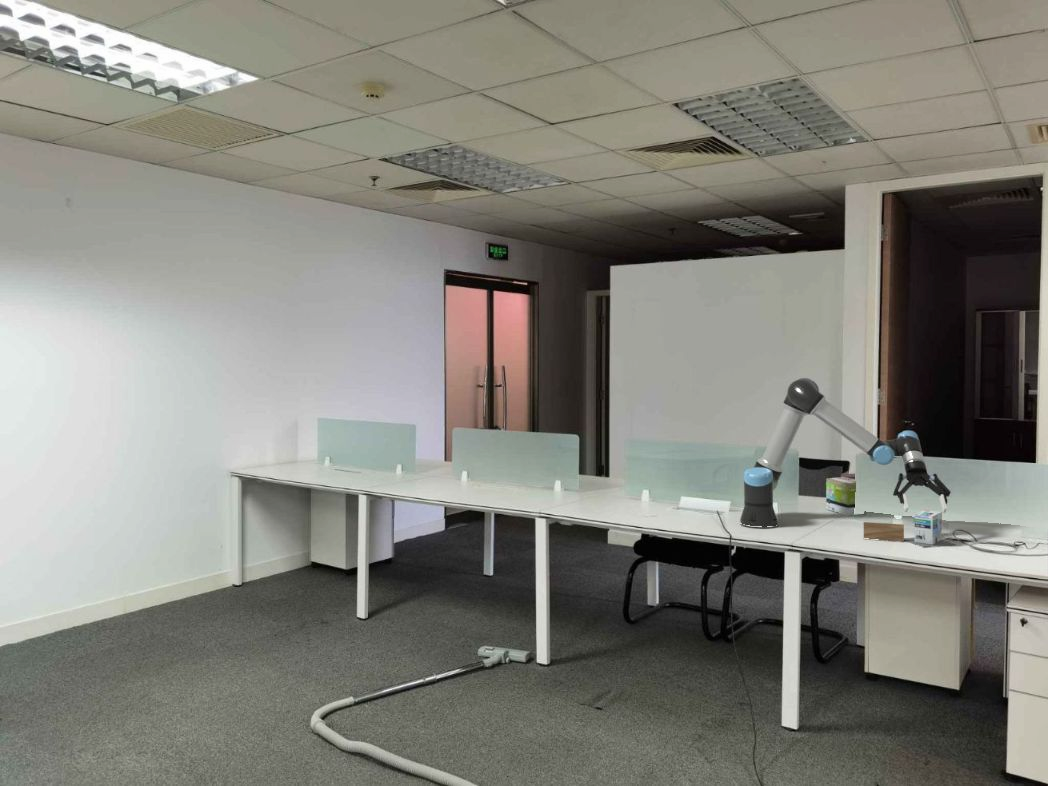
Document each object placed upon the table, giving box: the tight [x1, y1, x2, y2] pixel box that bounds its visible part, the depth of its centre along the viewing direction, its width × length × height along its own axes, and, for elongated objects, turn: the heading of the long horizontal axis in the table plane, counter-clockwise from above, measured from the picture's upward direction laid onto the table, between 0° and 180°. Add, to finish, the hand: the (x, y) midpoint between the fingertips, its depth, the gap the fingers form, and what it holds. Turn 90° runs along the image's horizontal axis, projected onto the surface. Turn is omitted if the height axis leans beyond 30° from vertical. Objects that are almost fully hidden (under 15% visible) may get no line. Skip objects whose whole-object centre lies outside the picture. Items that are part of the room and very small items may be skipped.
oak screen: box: [863, 521, 905, 543], centre depth 305 cm, size 1×14×6 cm, turn 65°
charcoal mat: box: [904, 536, 956, 548], centre depth 301 cm, size 13×13×1 cm
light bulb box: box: [914, 509, 943, 545], centre depth 301 cm, size 11×7×11 cm, turn 135°
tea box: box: [825, 476, 856, 517], centre depth 358 cm, size 15×10×15 cm, turn 17°
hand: (925, 510), depth 304 cm, fingers open, 13 cm apart
